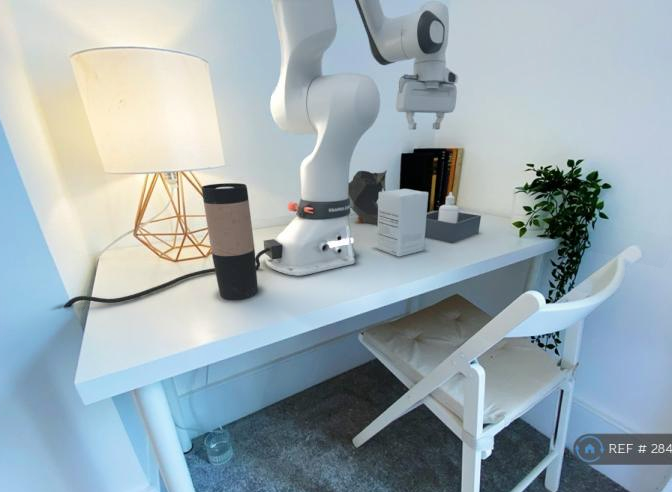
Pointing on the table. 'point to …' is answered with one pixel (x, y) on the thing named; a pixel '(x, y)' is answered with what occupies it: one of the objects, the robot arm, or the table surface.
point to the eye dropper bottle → (448, 210)
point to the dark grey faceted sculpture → (366, 195)
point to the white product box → (401, 221)
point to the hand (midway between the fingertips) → (424, 129)
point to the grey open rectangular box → (452, 227)
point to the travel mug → (231, 239)
